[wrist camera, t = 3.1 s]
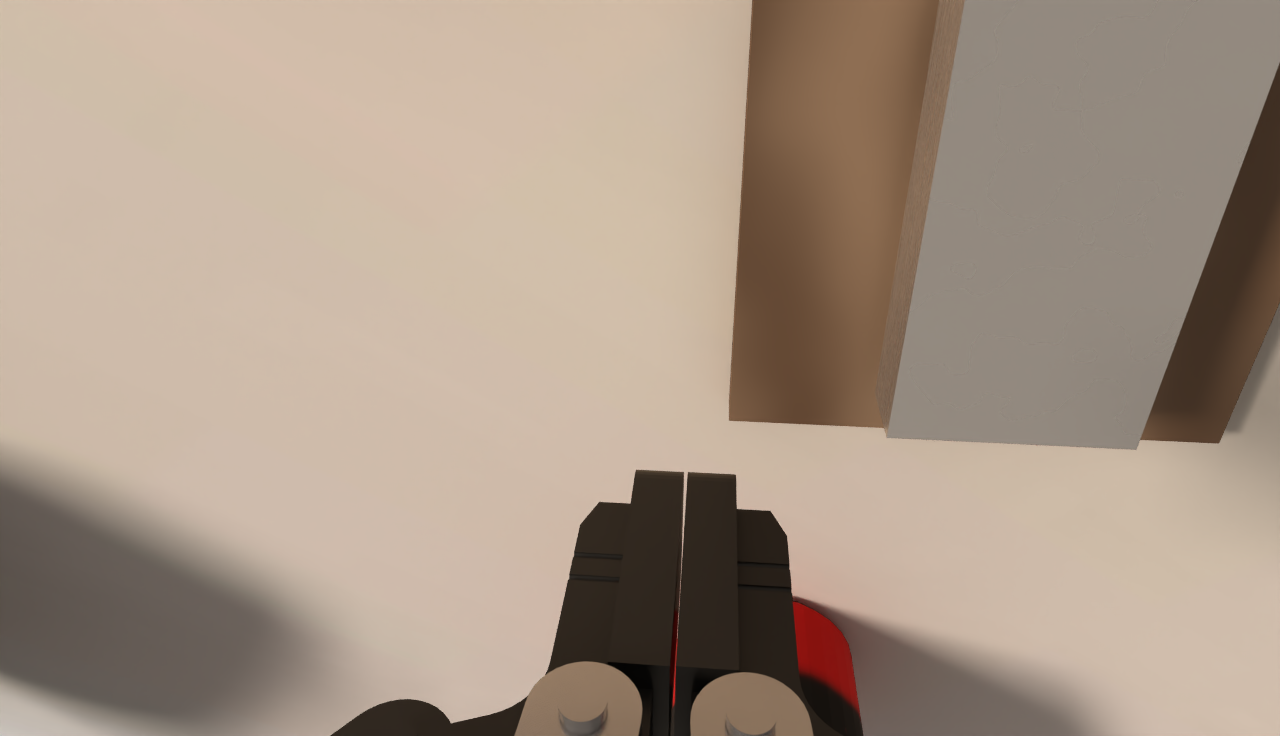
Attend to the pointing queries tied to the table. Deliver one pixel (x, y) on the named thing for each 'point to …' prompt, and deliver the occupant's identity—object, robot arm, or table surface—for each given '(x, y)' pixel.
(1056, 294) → the swing arm
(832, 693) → the soda can
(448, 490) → the table surface
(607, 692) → the robot arm
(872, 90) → the label panel
